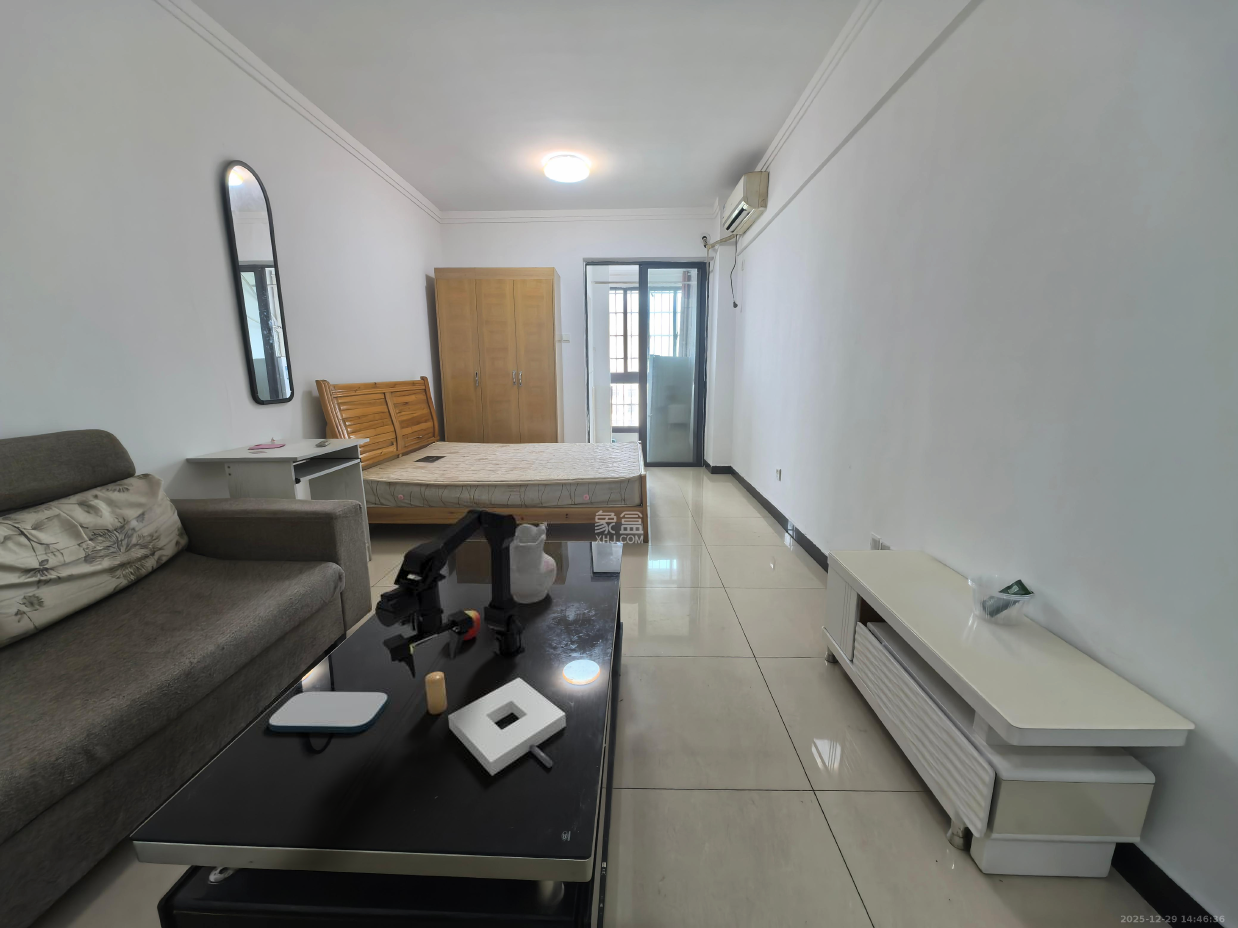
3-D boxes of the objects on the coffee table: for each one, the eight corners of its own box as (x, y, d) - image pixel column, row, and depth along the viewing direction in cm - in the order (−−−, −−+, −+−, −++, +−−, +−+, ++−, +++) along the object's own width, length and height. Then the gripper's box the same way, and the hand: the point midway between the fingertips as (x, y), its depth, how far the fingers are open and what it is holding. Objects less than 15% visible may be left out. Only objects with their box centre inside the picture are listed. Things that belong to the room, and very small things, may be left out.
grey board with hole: (519, 688, 116) (519, 677, 115) (585, 741, 98) (584, 728, 98) (449, 727, 103) (448, 715, 103) (510, 796, 86) (509, 782, 85)
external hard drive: (394, 699, 113) (393, 691, 113) (366, 735, 102) (365, 727, 102) (299, 698, 115) (298, 690, 114) (262, 733, 103) (260, 725, 103)
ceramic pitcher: (549, 615, 152) (551, 542, 147) (489, 611, 152) (489, 538, 148) (559, 586, 173) (561, 521, 169) (506, 582, 174) (507, 517, 169)
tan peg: (442, 699, 112) (439, 669, 111) (450, 707, 109) (446, 676, 108) (425, 707, 109) (422, 677, 108) (433, 716, 107) (429, 684, 105)
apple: (445, 641, 137) (442, 609, 135) (467, 627, 144) (464, 596, 142) (466, 648, 133) (463, 615, 131) (487, 633, 140) (485, 602, 138)
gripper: (450, 580, 117) (456, 637, 120) (369, 607, 104) (378, 671, 107) (472, 594, 109) (478, 655, 112) (387, 626, 96) (396, 694, 99)
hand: (433, 667), depth 108 cm, fingers open, 9 cm apart
